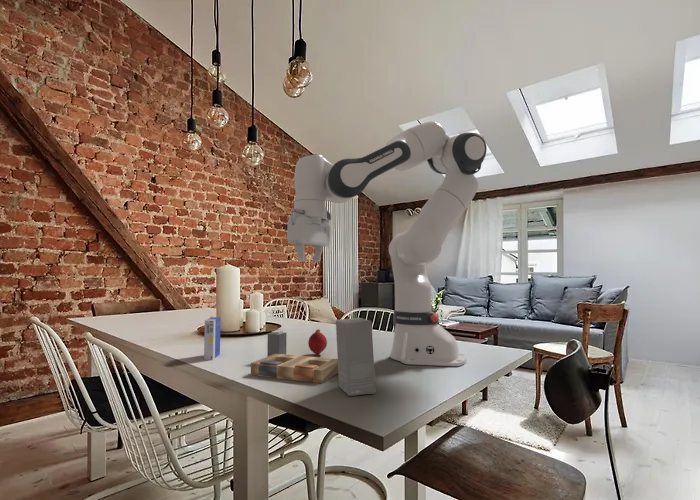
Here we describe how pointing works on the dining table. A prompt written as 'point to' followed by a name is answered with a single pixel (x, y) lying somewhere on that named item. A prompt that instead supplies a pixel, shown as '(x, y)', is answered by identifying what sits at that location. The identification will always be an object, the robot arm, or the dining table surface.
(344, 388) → the skincare box
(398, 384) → the dining table surface
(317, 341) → the onion
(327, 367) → the socket board
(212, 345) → the walkman
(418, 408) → the dining table surface
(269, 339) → the plug
